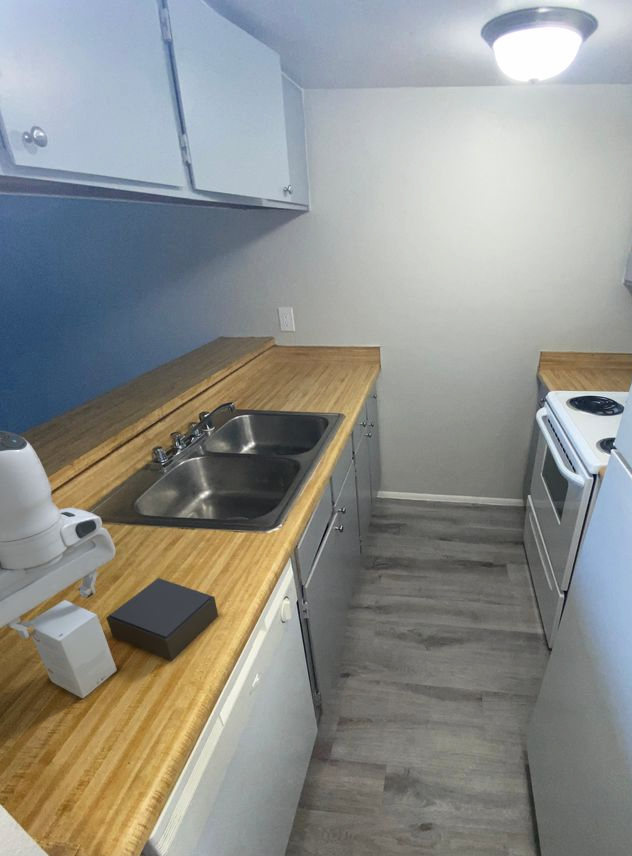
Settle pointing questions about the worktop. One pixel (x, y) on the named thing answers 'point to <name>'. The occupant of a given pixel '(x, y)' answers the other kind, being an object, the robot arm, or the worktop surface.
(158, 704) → the worktop surface
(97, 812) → the worktop surface
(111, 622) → the dark gray box
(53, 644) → the small box
